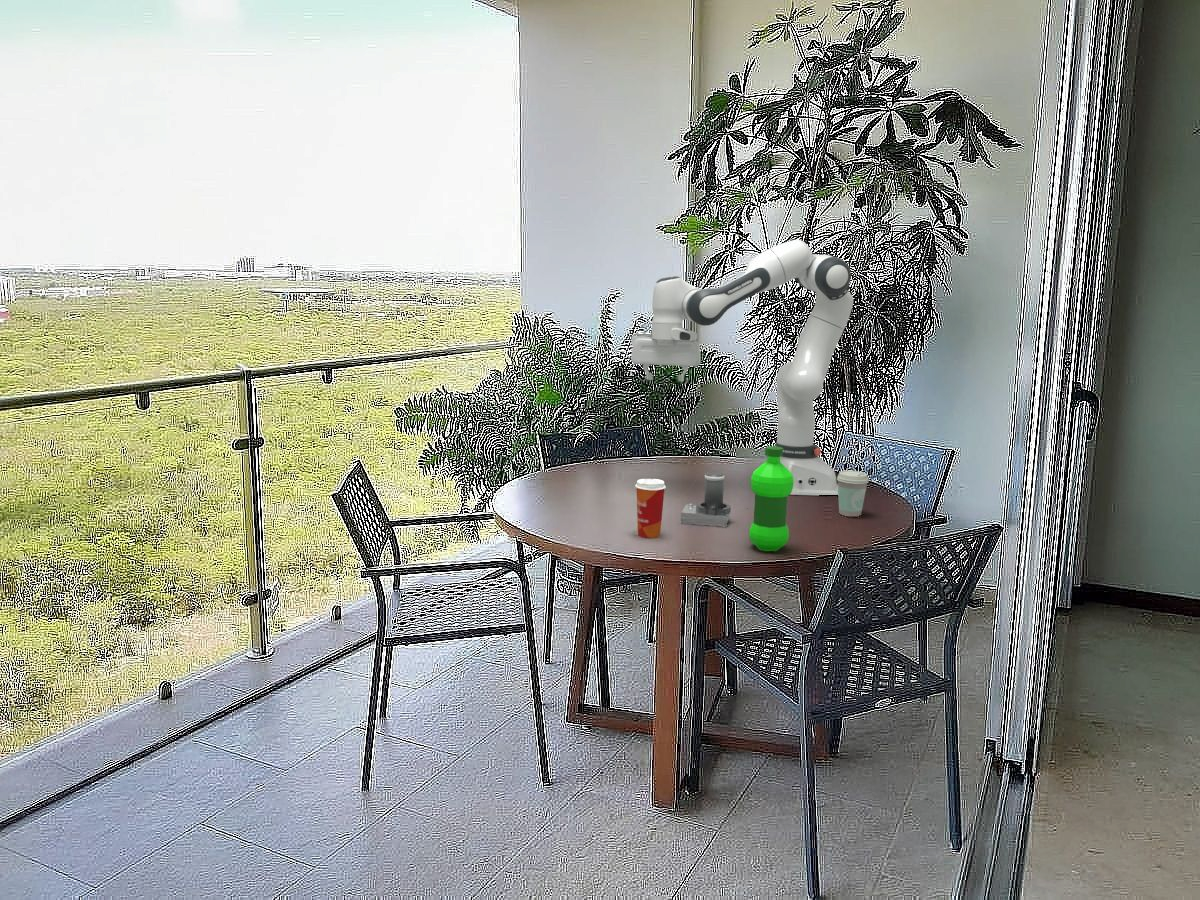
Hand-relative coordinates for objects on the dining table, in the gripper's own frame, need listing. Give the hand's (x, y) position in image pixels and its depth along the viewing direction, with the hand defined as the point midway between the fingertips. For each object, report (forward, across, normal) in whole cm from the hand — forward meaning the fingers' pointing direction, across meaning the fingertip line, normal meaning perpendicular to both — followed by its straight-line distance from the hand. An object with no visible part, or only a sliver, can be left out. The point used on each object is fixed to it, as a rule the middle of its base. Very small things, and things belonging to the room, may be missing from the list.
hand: (664, 380), depth 273 cm
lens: (+31, +19, -27) cm, 45 cm away
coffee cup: (+34, +55, -8) cm, 65 cm away
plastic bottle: (+34, +35, -47) cm, 68 cm away
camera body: (+34, +17, -27) cm, 47 cm away
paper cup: (+34, +5, -45) cm, 57 cm away
